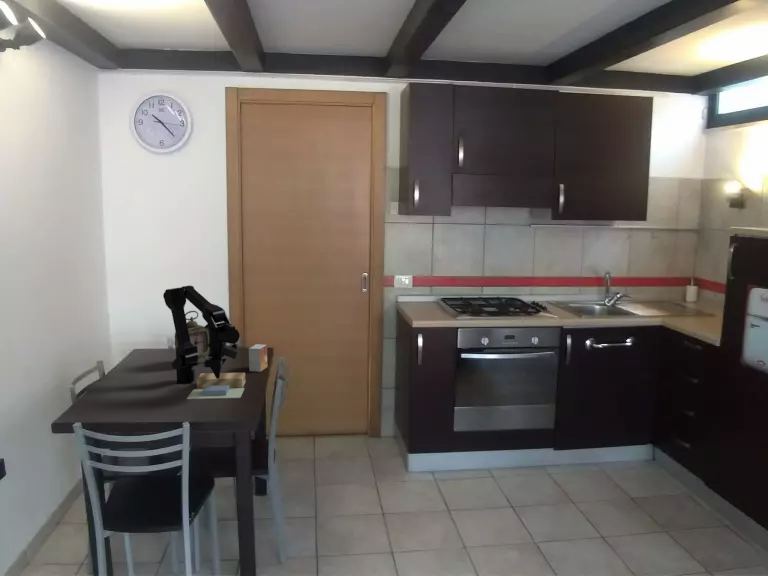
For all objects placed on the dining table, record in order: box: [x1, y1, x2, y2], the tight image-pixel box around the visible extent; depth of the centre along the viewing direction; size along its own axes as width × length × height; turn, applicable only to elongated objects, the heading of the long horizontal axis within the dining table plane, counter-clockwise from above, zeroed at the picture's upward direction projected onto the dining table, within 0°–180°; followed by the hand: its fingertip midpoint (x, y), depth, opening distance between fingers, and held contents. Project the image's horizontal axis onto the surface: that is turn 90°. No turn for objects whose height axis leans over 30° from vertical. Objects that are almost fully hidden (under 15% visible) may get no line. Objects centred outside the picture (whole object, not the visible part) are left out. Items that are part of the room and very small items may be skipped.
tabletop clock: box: [174, 310, 209, 362], centre depth 269 cm, size 14×9×25 cm, turn 139°
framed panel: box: [196, 372, 246, 389], centre depth 240 cm, size 18×8×4 cm, turn 94°
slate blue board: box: [203, 385, 229, 396], centre depth 230 cm, size 9×6×2 cm, turn 94°
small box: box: [248, 343, 268, 373], centre depth 262 cm, size 8×6×10 cm
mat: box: [186, 387, 245, 400], centre depth 230 cm, size 20×11×1 cm, turn 94°
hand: (218, 378), depth 234 cm, fingers closed
